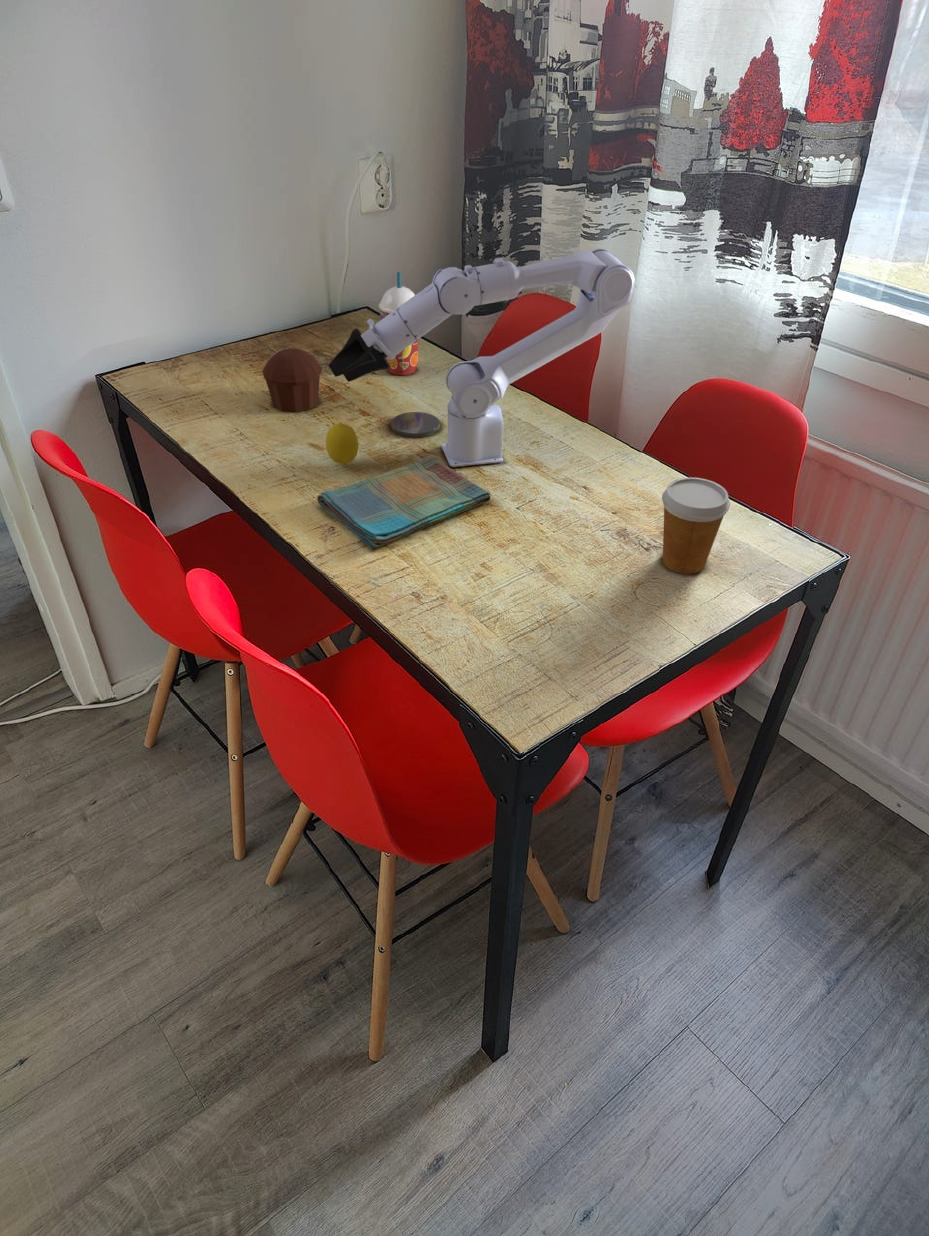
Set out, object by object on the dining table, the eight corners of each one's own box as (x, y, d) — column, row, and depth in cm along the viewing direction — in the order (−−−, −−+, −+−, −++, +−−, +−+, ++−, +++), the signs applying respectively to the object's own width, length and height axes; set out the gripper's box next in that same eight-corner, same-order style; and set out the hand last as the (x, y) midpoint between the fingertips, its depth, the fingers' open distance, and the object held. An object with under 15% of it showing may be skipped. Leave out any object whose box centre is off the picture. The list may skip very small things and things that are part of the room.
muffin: (314, 417, 171) (309, 367, 164) (258, 412, 172) (251, 362, 166) (331, 391, 180) (327, 342, 174) (278, 387, 181) (272, 338, 175)
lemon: (354, 474, 154) (351, 432, 149) (323, 470, 155) (319, 428, 150) (363, 459, 158) (360, 417, 153) (333, 455, 159) (329, 414, 154)
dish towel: (314, 505, 146) (313, 491, 145) (430, 462, 158) (430, 449, 156) (374, 552, 136) (373, 538, 134) (492, 503, 147) (493, 489, 146)
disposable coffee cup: (671, 537, 140) (683, 469, 132) (727, 560, 135) (743, 490, 128) (639, 564, 134) (650, 494, 127) (696, 588, 129) (712, 517, 122)
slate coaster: (434, 413, 173) (434, 409, 172) (444, 434, 166) (444, 431, 165) (387, 417, 171) (387, 414, 171) (395, 439, 164) (395, 435, 164)
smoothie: (377, 364, 191) (373, 267, 178) (415, 360, 193) (413, 264, 180) (387, 380, 184) (382, 281, 172) (426, 375, 186) (424, 277, 174)
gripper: (402, 311, 150) (337, 358, 152) (383, 293, 136) (311, 346, 138) (425, 347, 150) (360, 393, 153) (408, 333, 136) (336, 385, 139)
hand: (338, 373), depth 146 cm, fingers open, 7 cm apart
